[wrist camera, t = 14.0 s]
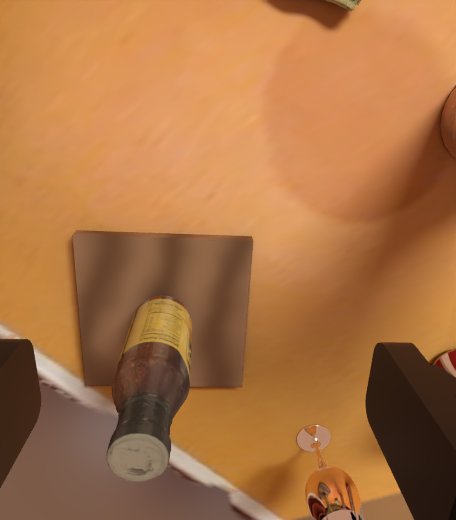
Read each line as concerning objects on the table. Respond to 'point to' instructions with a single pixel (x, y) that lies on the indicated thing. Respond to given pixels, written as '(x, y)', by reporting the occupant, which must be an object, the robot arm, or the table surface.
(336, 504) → the wineglass
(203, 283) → the walnut board
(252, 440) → the table surface
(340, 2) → the washcloth
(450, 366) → the soda can
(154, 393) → the sauce bottle
